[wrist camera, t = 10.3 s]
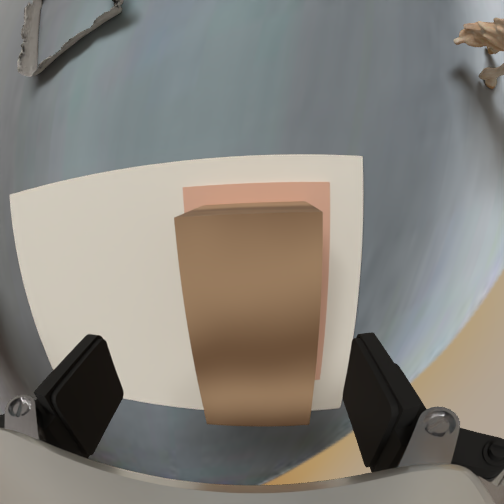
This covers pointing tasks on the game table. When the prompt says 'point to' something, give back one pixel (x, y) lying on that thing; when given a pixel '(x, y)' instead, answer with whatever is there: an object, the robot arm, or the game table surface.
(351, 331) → the rubber mat
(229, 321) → the walnut block
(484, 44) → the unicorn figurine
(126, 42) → the game table surface
